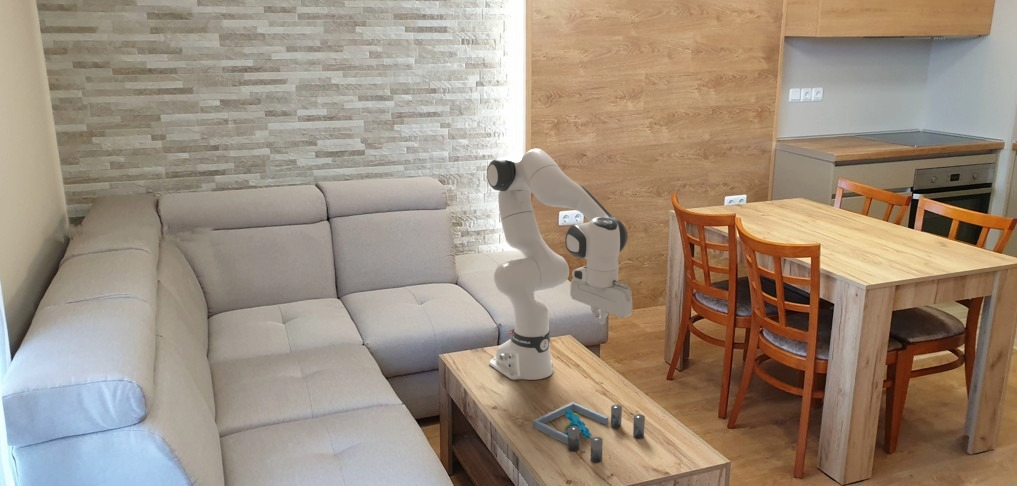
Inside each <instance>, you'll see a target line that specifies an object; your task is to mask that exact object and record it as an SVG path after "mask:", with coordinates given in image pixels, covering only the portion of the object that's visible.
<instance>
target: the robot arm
mask: <svg viewBox="0 0 1017 486" xmlns="http://www.w3.org/2000/svg"><path fill="white" fill-rule="evenodd" d="M486 178H487V181H488V184H489V186H490V187H491V188H492V189H493V190H494V191H498V194H497V195H498V196H497V198H498V210H499V211H498V212H499V217H500V221H501V225H502V230H503V233H504V237H505V241H506V244H507V245H509V247H511V248H513V249H516V250H518V251H519V252H520V253H521V254H522V255H523V256H524V258H517V259H511V260H508V261H505V262H503V263H501V264H499V265H497V267H496V268H495V270H494V272H493V273H494V274H493V281H494V285H495V287H496V289H497V290H498V291H499V293H501V294H503V295H504V296H506V298H507V299H509V301H510V303H511V305H512V308H513V315H514V317H513V318H514V328H513V329H511V330H509V331H508V332H509V333H508V334H509V335H511V337H510V339H508V340H507V341H505V342H503V343H502V344H500V345H499V347H497V350H496V356H494V357H493V358H491V359H490V360H489V363H488V365H489V366H490V367H492V368H493V369H495V370H497V371H498V372H499V373H501V374H502V375H504V376H505V377H506V378H508V379H509V380H514V381H515V380H529V381H530V380H531V381H532V380H534V381H535V380H536V381H537V380H542V379H545V378H547V377H550V376H551V375H552V374H553V373H554V369H553V360H552V356H551V354H552V353H551V347H550V346H551V345H550V341H551V332H550V330H549V327H550V324H549V321H550V319H549V318H550V312H549V309H548V307H547V305H546V304H545V303H544V302H542V301H540V300H537V299H535V292H537V291H539V292H540V291H545V290H549V289H554V288H556V287H560V286H561V285H564V284H565V283H566V282H567V281H568V279H569V275H570V267H569V264H568V262H567V260H566V259H565V258H564V257H563V256H562V255H559V254H558V253H556V251H555V252H554V250H552V249H551V248H550V246H549V245H547V243H546V242H545V240H544V237H542V235H541V232H540V228H539V225H538V221H537V218H536V215H535V211H534V207H533V203H532V200H531V198H532V197H531V195H533V196H534V197H535V198H536V200H537V201H539V202H540V203H541V204H543V205H545V206H548V207H557V208H558V207H559V208H566V209H572V210H575V211H577V212H579V213H581V214H582V215H583V216H584V217H585V218H586V219H587V221H588V222H581V223H576V224H573V225H571V226H569V228H568V230H567V231H566V234H565V239H564V240H565V241H564V242H565V248H566V250H567V251H568V252H569V254H570V255H572V256H573V257H576V258H577V259H586V265H583V266H581V267H578V268H575V269H573V270H572V271H571V276H572V278H571V280H570V286H569V287H570V290H569V292H570V293H569V294H570V297H571V299H572V300H574V301H577V302H579V303H581V304H585V305H587V306H590V311H591V313H592V316H593V322H595V323H598V324H600V325H604V324H606V322H607V321H606V319H607V317H608V315H609V314H610V315H614V316H616V317H619V318H621V319H624V318H627V317H630V316H631V314H632V313H633V297H632V295H633V294H632V293H633V292H632V289H631V287H629V285H628V284H626V283H622V282H620V281H619V268H620V266H619V265H620V264H619V261H618V259H619V255H620V253H621V252H622V251H623V250H624V249H625V247H626V245H627V243H628V236H629V235H628V231H627V228H626V226H625V225H624V223H623V222H621V220H620V219H619V218H617V217H615V216H613V215H612V214H611V213H610V212H609V211H608V210H607V209H606V208H605V207H604V206H603V205H602V204H601V202H600V201H598V199H596V197H595V196H594V195H593V194H592V193H591V192H590V191H589V190H588V189H587V188H585V187H584V186H583V185H580V184H578V183H577V182H575V181H574V180H573V179H571V178H570V177H569V176H568V175H566V174H565V172H563V170H562V169H561V168H560V166H559V165H558V163H556V161H555V160H554V159H553V158H552V157H551V156H550V155H549V154H548V153H547V152H546V151H544V150H543V149H540V148H533V149H530V150H528V151H527V152H525V153H524V154H517V155H514V156H513V155H512V156H507V157H497V158H495V159H493V160H491V161H490V162H489V165H488V166H487V170H486ZM599 310H600V311H599ZM600 313H601V314H600Z"/></svg>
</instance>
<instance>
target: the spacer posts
mask: <svg viewBox="0 0 1017 486" xmlns="http://www.w3.org/2000/svg"><path fill="white" fill-rule="evenodd" d="M610 409H611V410H610V427H611V429H614V430H615V429H617V430H618V429H621V428H622V421H623V420H622V417H623V414H622V413H623V406H622V405H621V404H612V405H611V407H610ZM645 421H646V416H645V415H644V414H640V413H639V414H638V413H637V414H634V415H633V426H632V427H633V428H632V429H633V433H632V436H633V438H634V439H636V440H642V439H644V437H645V424H646V422H645ZM579 430H580V429H579V427H577V426H570V427H569V428H568V429H567V431H568V444H567V450H568V451H569V452H578V451H580V432H579ZM603 440H604V439H603V438H602V437H600V436H591V437H590V462H592V463H593V464H600V463H602V461H603V443H604V441H603Z"/></svg>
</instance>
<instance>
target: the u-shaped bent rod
mask: <svg viewBox="0 0 1017 486" xmlns="http://www.w3.org/2000/svg"><path fill="white" fill-rule="evenodd" d="M566 409H569V410H570V411H572V412H573V411H574V412H575V413H579V414H581V415H582V416H583V415H584V416H585V417H587V418H590V419H592V420H593V421H596V422H598V423H601V424H603V425H608V424H609V417H608V416H606V415H605V414H602V413H600V412H597V411H595V410H593V409H590V408H588V407H586V406H583V405H582V404H579V403H577V402H574V401H572V402H569V403H567V404H565V405H563V406H561V407H558V408H557V409H555V410H553V411H551V412H548V413H546V414H544V415H542V416H540V417H538V418H536V419H534V420H532V428H534V429H536V430H538V431H540V432H542V433H544V434H545V435H548V436H550V437H552V438H554V439H555V440H558V441H560V442H561V443H563V444H565V445H568V435H566V434H565V432H562V431H560V430H558V429H555V428H554V427H552V426H550V425H547V423H549V422H551V421H553V420H556V419H557V418H560V417H562V416H564V415H566V414H565V413H564V412H565V410H566Z"/></svg>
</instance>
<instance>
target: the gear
mask: <svg viewBox="0 0 1017 486" xmlns="http://www.w3.org/2000/svg"><path fill="white" fill-rule="evenodd" d="M564 413H565V414H564V415H565V417H566V419H567V420H568V421H569V423H568V424H567V425H566V426H565V428H566V429H567V430H566V431H565V432H564V434H566V435H568V428H569V427H570V426H577V427H579V429H580V430H579V433H581V436H582V437H583V438H586V439H591V438H592V434H591V432H590V428H588V427H587V426H586V424H585V422H584V421H582V420H581V418H580V417H579V414H577V412H575V413H574V412H573V410H572V411H570V410H569V409H566V410H565V412H564Z"/></svg>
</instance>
